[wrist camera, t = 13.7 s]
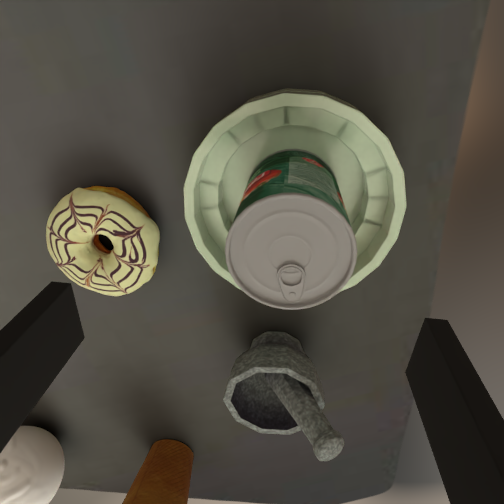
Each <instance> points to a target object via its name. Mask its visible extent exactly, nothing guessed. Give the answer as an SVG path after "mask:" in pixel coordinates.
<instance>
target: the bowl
mask: <svg viewBox="0 0 504 504" xmlns="http://www.w3.org/2000/svg"><path fill="white" fill-rule="evenodd" d="M285 149H301V150H306V151H309V152H311V153H314V154H316V155H317V156H319V157H320V158H322V159H323V160H324V161H325V162H326V163H327V164H328V165H329V166H330V168H331V169H332V171H333V172H334V174H335V177H336V179H337V183H338V187H339V190H340V193H341V196H342V199H343V202H344V206H345V209H346V212H347V215H348V218H349V221H350V224H351V228H352V230H353V233H354V235H355V238H356V244H357V261H356V265H355V268H354V271H353V274H352V276H351V277H350V279H349V281H348V282H347V284H346V285H345V286H344V287H343V288H342V289H341V291H343V290H345V289H347V288H350V287H352V286H354V285H356V284H357V283H358V282H360V281H361V280H362V279H363V278H365V277H366V276H367V275H368V274H370V273H371V272H372V271H373V270H374V269H376V268H377V267H378V266H379V265H380V264H381V262H382V261H383V259H384V258H385V256H386V255H387V253H388V252H389V250H390V249H391V247H392V246H393V244H394V243H395V241H396V240H397V238H398V235H399V231H400V228H401V224H402V220H403V217H404V213H405V210H406V193H405V179H404V172H403V169H402V166H401V164H400V162H399V160H398V158H397V156H396V154H395V151H394V149H393V147H392V145H391V143H390V141H389V139H388V137H386V136H385V135H384V134H383V133H382V132H381V131H380V130H379V129H378V128H377V127H376V126H375V125H374V124H373V123H372V122H371V121H370V120H369V119H368V118H367V117H366V116H365V115H364V114H363V113H362V112H361V111H359V110H358V109H357V108H356V107H355V106H353V105H352V104H350V103H348V102H345V101H343V100H341V99H339V98H336V97H334V96H332V95H330V94H327V93H325V92H323V91H319V90H304V89H289V88H286V89H281V90H278V91H274V92H271V93H267V94H264V95H260V96H256V97H253V98H251V99H250V100H248V101H247V102H245V103H244V104H242V105H241V106H239V107H238V108H237V109H235V110H234V111H232V112H231V113H229V114H228V115H227V116H225V117H224V118H223V119H221V120H220V121H219V122H218V123H217V124H216V125H215V126H213V128H212V129H211V131H210V132H209V133H208V135H207V136H206V137H205V139H204V140H203V142H202V143H201V144H200V146H199V147H198V149H197V150H196V151H195V153H194V155H193V157H192V160H191V164H190V167H189V170H188V174H187V177H186V180H185V184H184V210H185V220H186V222H187V225H188V228H189V230H190V233H191V236H192V238H193V241H194V244H195V246H196V248H197V250H198V251H199V252H200V254H201V255H202V256H203V257H204V259H205V260H206V261H207V263H208V264H209V265H210V267H211V268H212V269H213V270H214V271H215V272H216V273H218V274H219V275H220V276H222V277H223V278H224V279H226V280H227V281H229V282H230V283H231V284H233V285H234V286H235V287H237V288H238V289H240V287H239V286H238V285H237V284H236V283H235V281H234V280H233V278H232V276H231V274H230V273H229V270H228V267H227V264H226V257H225V245H226V238H227V235H228V232H229V229H230V227H231V226H232V223H233V221H234V218H235V215H236V212H237V210H238V207H239V205H240V202H241V199H242V197H243V194H244V191H245V189H246V186H247V183H248V180H249V177H250V175H251V173H252V172H253V170H254V168H255V167H256V166H257V165H258V164H259V163H260V161H261V160H263V159H264V158H266V157H267V156H268V155H270V154H273V153H275V152H277V151H281V150H285ZM341 291H340V292H341Z"/></svg>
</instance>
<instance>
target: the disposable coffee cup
mask: <svg viewBox="0 0 504 504" xmlns="http://www.w3.org/2000/svg"><path fill="white" fill-rule="evenodd" d="M193 457H194V456H193V452H192V451H191V449H190V448H189V447H188V446H186V445H185V444H183V443H181V442H179V441H175V440H169V439H164V440H159V441H157V442H155V443H154V444H153V445H152V447H151V449H150V451H149V453H148V455H147V457H146V459H145V461H144V463H143V465H142V466H141V468H140V470H139V472H138V474H137V476H136V478H135V480H134V482H133V484H132V486H131V488H130V490H129V492H128V494H127V496H126V498H125V499H124V501H123V503H122V504H187V501H188V493H189V487H190V478H191V471H192V464H193Z"/></svg>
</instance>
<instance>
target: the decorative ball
mask: <svg viewBox="0 0 504 504" xmlns="http://www.w3.org/2000/svg"><path fill="white" fill-rule="evenodd" d="M64 464H65V462H64V453H63V450H62V447H61V445H60V443H59V442H58V440H57V439H56V438H55V437H54V436H53V435H52V434H51V433H50V432H48V431H46V430H44V429H42V428H39V427H35V426H20V427H19V428H18V430H17V431H16V432H15V434H14V435H13V437H12V438H11V439H10V441H9V442H8V443H7V445H6V446H5V448H4V449H3V450H2V452H1V453H0V504H48V503H49V502H50V501H51V499H52V498H53V497H54V495H55V493H56V492H57V490H58V488H59V486H60V483H61V480H62V477H63V473H64Z"/></svg>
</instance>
